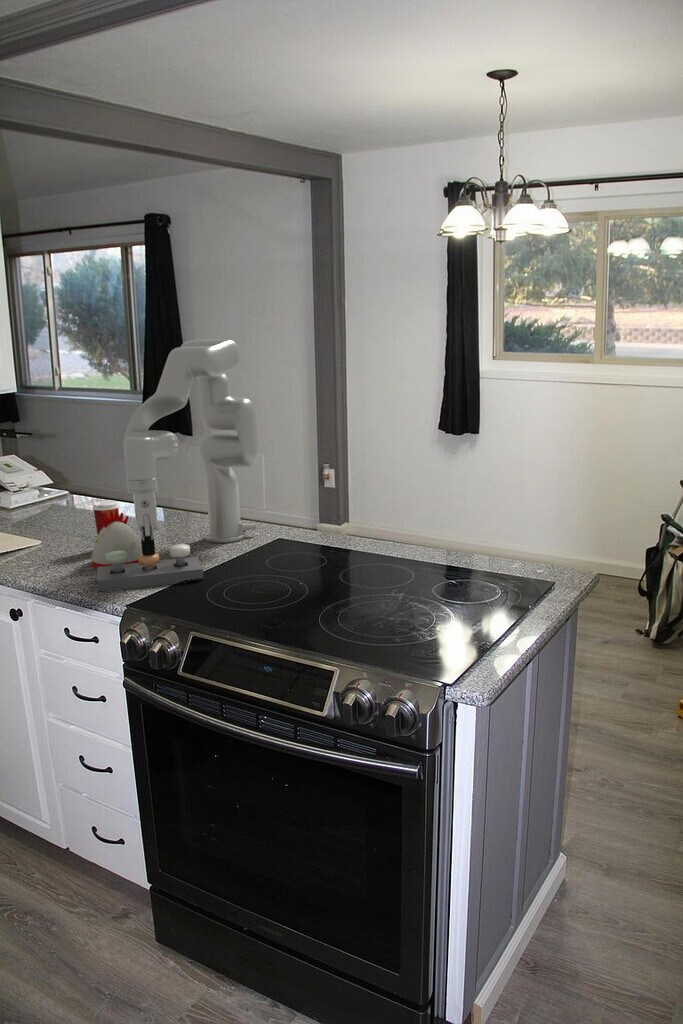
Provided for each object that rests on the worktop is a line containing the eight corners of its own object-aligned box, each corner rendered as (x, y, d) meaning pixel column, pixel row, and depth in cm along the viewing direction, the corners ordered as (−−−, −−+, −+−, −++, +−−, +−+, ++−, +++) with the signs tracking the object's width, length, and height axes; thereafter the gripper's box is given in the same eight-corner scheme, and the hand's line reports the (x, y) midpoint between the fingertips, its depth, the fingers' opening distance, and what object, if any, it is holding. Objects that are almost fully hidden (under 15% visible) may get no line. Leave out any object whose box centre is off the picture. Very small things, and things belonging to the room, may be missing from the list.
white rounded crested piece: (85, 562, 237) (79, 510, 234) (131, 552, 245) (126, 502, 242) (104, 573, 226) (99, 518, 223) (152, 563, 234) (147, 510, 231)
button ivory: (189, 561, 224) (188, 543, 223) (192, 567, 219) (190, 548, 218) (170, 563, 223) (168, 545, 222) (171, 569, 218) (170, 550, 217)
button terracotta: (159, 569, 223) (158, 551, 221) (161, 575, 218) (159, 556, 217) (139, 572, 221) (137, 553, 220) (140, 577, 216) (138, 559, 215)
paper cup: (116, 553, 245) (111, 506, 241) (91, 552, 246) (86, 505, 243) (128, 545, 252) (123, 500, 249) (104, 545, 254) (99, 499, 250)
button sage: (127, 568, 220) (126, 549, 219) (128, 573, 215) (126, 555, 214) (107, 570, 219) (105, 551, 218) (107, 576, 214) (105, 557, 213)
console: (198, 567, 229) (197, 556, 228) (203, 580, 218) (202, 569, 217) (98, 578, 222) (97, 567, 221) (98, 591, 211) (97, 580, 210)
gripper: (159, 489, 208) (166, 560, 212) (155, 477, 222) (161, 545, 226) (128, 491, 206) (135, 564, 210) (126, 480, 220) (132, 548, 224)
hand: (148, 554), depth 218 cm, fingers closed
